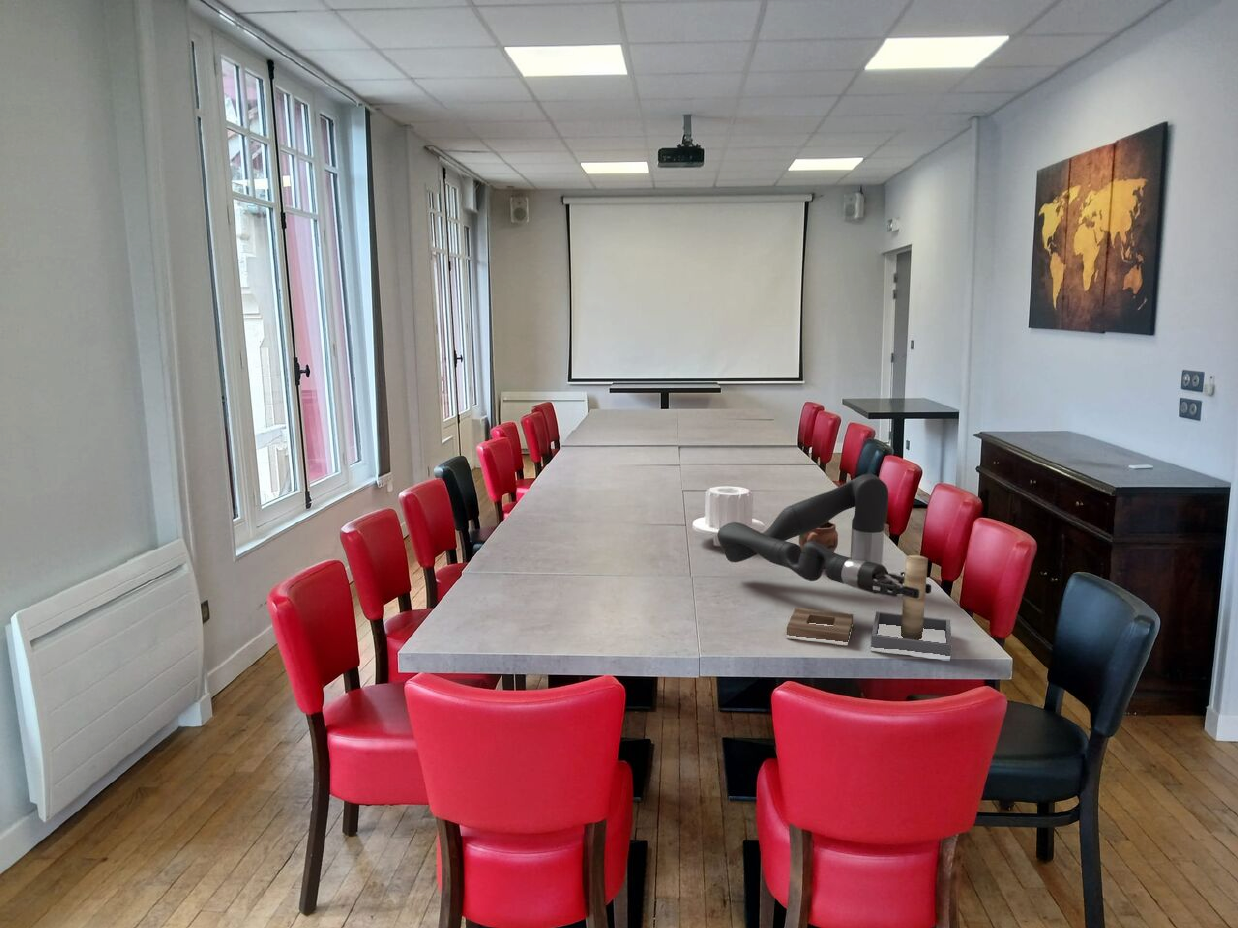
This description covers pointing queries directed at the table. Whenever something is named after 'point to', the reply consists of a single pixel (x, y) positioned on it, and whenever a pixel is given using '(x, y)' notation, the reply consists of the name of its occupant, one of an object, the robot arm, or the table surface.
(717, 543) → the lamp base
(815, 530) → the decorative planter
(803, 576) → the robot arm
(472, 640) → the table surface
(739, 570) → the table surface
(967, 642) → the table surface
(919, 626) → the beech dowel
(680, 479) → the table surface
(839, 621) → the walnut socket block
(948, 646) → the slate grey tray
